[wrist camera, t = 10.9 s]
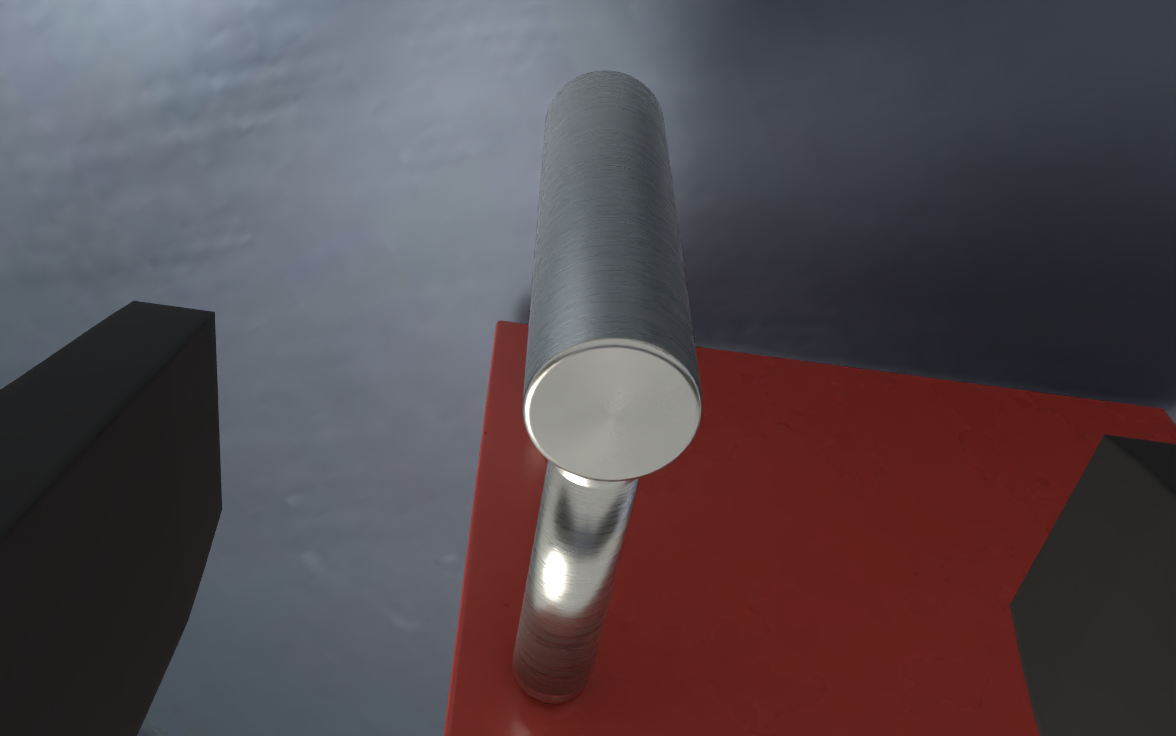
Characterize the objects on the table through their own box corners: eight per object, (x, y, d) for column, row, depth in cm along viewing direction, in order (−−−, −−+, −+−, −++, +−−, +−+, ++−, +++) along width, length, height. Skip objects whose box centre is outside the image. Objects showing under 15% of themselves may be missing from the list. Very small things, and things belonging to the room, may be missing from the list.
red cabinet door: (1316, 144, 17) (1851, 554, 10) (1149, 433, 20) (1458, 900, 13) (536, 21, 16) (490, 381, 8) (492, 347, 19) (434, 803, 12)
